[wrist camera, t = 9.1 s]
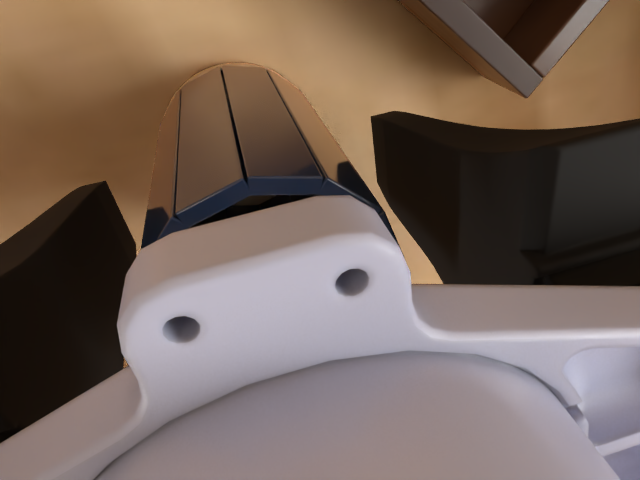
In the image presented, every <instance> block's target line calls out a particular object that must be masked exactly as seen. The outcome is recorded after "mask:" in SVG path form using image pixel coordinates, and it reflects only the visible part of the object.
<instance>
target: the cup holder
mask: <svg viewBox="0 0 640 480" xmlns="http://www.w3.org/2000/svg"><path fill="white" fill-rule="evenodd" d="M397 1H399V2H400V3H401V4H402V5H403V6H404V7H405V8H406V9H408V10H409V11H410V12H411V13H412V14H413V15H414V16H416V17H417V18H418V19H419V20H420V21H421V22H422V23H423V24H425V25H426V26H427V27H428V28H429V29H430V30H431V31H432V32H434V33H435V34H436V35H437V36H438V37H439V38H440V39H442V40H443V41H444V42H445V43H446V44H447V45H448V46H449V47H451V48H452V49H453V50H454V51H455V52H456V53H457V54H459V55H460V56H461V57H462V58H463V59H464V60H465V61H466V62H468V63H469V64H470V65H471V66H472V67H473V68H474V69H475V70H477V71H478V72H479V73H480V74H481V75H482V76H483V77H485V78H487V79H489V80H491V81H492V82H494V83H496V84H498V85H500V86H502V87H504V88H506V89H508V90H510V91H512V92H514V93H516V94H518V95H520V96H522V97H524V98H528V97H529V96H530V94H531V93H532V92H533V91H534V90H535V88H536V87H537V86H538V85H539V84H540V82H541V81H542V80H543V78H542V77H545V76H546V75H547V74H548V73H549V71H550V70H551V69H552V68H553V67H554V66H555V64H556V63H557V62H558V61H559V60H560V58H561V57H562V56H563V55H564V54H565V52H566V51H567V50H568V49H569V48H570V47H571V45H572V44H573V43H574V42H575V41H576V39H577V38H578V37H579V36H580V35H581V34H582V32H583V31H584V30H585V29H586V28H587V26H588V25H589V24H590V23H591V22H592V21H593V19H594V18H595V17H596V16H597V15H598V13H599V12H600V11H601V10H602V9H603V7H604V6H605V5H606V4H607V3H608V2H609V0H397Z"/></svg>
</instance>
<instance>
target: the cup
mask: <svg viewBox="0 0 640 480" xmlns="http://www.w3.org/2000/svg"><path fill="white" fill-rule="evenodd" d="M336 195H350V196H352V197H354V198H355V199H357V200H359V201H361V202H362V203H364V204H366V205H368V206H369V207H371V208H373V209H375V211H376V212H377V214H378V215H379V217H380V218H381V220H382V221H383V223H384V225H385V226H386V228H387V229H388V231H389V232H390V234H391V235H392V237H393V238H394V240H395V241H396V243H397V244H398V242H397V239H396V237H395V235H394V232H393V230H392V228H391V225H390V223H389V221H388V218H387V216H386V214H385V212H384V210H383V209H382V207H381V206H380V204H379V203H378V202H377V200H376V199H375V197H374V196H373V194H372V193H371V191H370V190H369V188H368V187H367V186H366V184H365V183H364V181H363V180H362V178H361V177H360V175H359V174H358V172H357V171H356V170H355V168H354V167H353V165H352V164H351V162H350V161H349V159H348V158H347V156H346V155H345V154H344V152H343V151H342V149H341V148H340V146H339V145H338V143H337V142H336V140H335V139H334V138H333V136H332V135H331V133H330V132H329V130H328V129H327V127H326V126H325V125H324V123H323V122H322V120H321V119H320V117H319V116H318V114H317V113H316V111H315V110H314V109H313V107H312V106H311V104H310V103H309V101H308V100H307V98H306V97H305V95H304V94H303V93H302V92H301V91H300V90H299V89H298V88H296V87H295V86H294V85H293V84H292V83H291V82H290V81H288V80H287V79H286V78H284V77H283V76H282V75H280V74H278V73H276V72H275V71H273V70H271V69H268V68H266V67H263V66H259V65H255V64H250V63H242V62H241V63H225V64H219V65H216V66H213V67H209V68H207V69H205V70H203V71H201V72H199V73H197V74H196V75H194V76H193V77H191V78H190V79H189V80H187V81H186V82H185V83H184V84H183V85H182V86H181V87H180V88H179V89H178V90H177V92H176V93H175V94H174V96H173V97H172V99H171V101H170V102H169V105H168V107H167V109H166V112H165V115H164V117H163V119H162V121H161V123H160V127H159V134H158V140H157V147H156V153H155V160H154V166H153V173H152V179H151V186H150V193H149V199H148V206H147V212H146V219H145V225H144V232H143V238H142V245H141V249H142V248H144V247H146V246H148V245H150V244H152V243H154V242H156V241H157V240H159V239H161V238H163V237H165V236H167V235H169V234H171V233H173V232H177V231H181V230H185V229H189V228H193V227H197V226H201V225H205V224H209V223H212V222H216V221H220V220H224V219H228V218H232V217H236V216H240V215H244V214H248V213H252V212H255V211H259V210H263V209H267V208H271V207H275V206H279V205H283V204H287V203H291V202H295V201H298V200H302V199H306V198H310V197H314V196H336ZM398 246H399V244H398ZM399 247H400V246H399ZM401 252H402V251H401ZM402 254H403V253H402Z"/></svg>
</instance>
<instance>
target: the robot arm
mask: <svg viewBox="0 0 640 480" xmlns="http://www.w3.org/2000/svg"><path fill="white" fill-rule="evenodd" d="M371 123H372V134H373V144H374V154H375V164H376V174H377V183H378V185H379V187H380V189H381V191H382V193H383V195H384V197H385V199H386V201H387V202H388V204H389V206H390V208H391V209H392V210H393V212H394V213H395V215H396V216H397V217H398V219H399V220H400V221H401V223H402V224H403V225H404V227H405V228H406V229H407V231H408V232H409V233H410V235H411V236H412V237H413V238H414V240H415V241H416V242H417V244H418V245H419V246H420V248H421V249H422V250H423V252H424V253H425V254H426V256H427V257H428V259H429V260H430V262H431V263H432V265H433V266H434V268H435V269H436V271H437V273H438V275H439V276H440V278H441V280H442V282H443V283H444V284H411V273H410V270H409V268H408V266H407V263H406V261H405V259H404V256H403V254H402V252H401V249H400V247H399V246H398V244H397V243H396V241H395V240H394V238H393V237H392V235H391V234H390V232H389V231H388V229H387V228H386V226H385V225H384V223H383V221H382V220H381V218H380V217H379V215H378V214H377V212H376V211H375V209H373V208H371V207H369V206H368V205H366V204H364V203H362V202H361V201H359V200H357V199H355V198H354V197H352V196H350V195H336V196H314V197H310V198H306V199H302V200H298V201H295V202H291V203H287V204H283V205H279V206H275V207H271V208H267V209H263V210H259V211H255V212H252V213H248V214H244V215H240V216H236V217H232V218H228V219H224V220H220V221H216V222H212V223H209V224H205V225H201V226H197V227H193V228H189V229H185V230H181V231H177V232H173V233H171V234H169V235H167V236H165V237H163V238H161V239H159V240H157V241H156V242H154V243H152V244H150V245H148V246H146V247H144V248H142V249H141V250H140V252H139V254H138V255H137V257H136V243H135V241H134V239H133V237H132V235H131V233H130V231H129V229H128V226H127V224H126V222H125V220H124V218H123V216H122V214H121V212H120V210H119V208H118V205H117V203H116V201H115V199H114V197H113V195H112V193H111V191H110V189H109V186H108V184H107V182H106V181H102V182H98V183H94V184H90V185H85V186H82V187H79V188H77V189H75V190H74V191H72V192H71V193H69V194H68V195H66V196H65V197H64V198H62V199H61V200H60V201H58V202H57V203H56V204H54V205H53V206H52V207H51V208H49V209H48V210H47V211H45V212H44V213H43V214H42V215H40V216H39V217H38V218H36V219H35V220H34V221H32V222H31V223H30V224H28V225H27V226H26V227H24V228H23V229H21V230H20V231H19V232H17V233H16V234H14V235H13V236H12V237H10V238H9V239H8V240H6V241H5V242H3V243H2V244H0V480H640V119H634V120H628V121H622V122H616V123H609V124H603V125H596V126H586V127H576V128H564V129H543V130H514V129H498V128H486V127H477V126H471V125H465V124H458V123H453V122H448V121H443V120H438V119H434V118H429V117H425V116H420V115H416V114H411V113H406V112H399V111H392V112H388V113H383V114H379V115H375V116H371ZM124 358H125V360H126V361H127V363H128V365H129V366H127V367H126V368H124V369H123V361H124Z"/></svg>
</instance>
